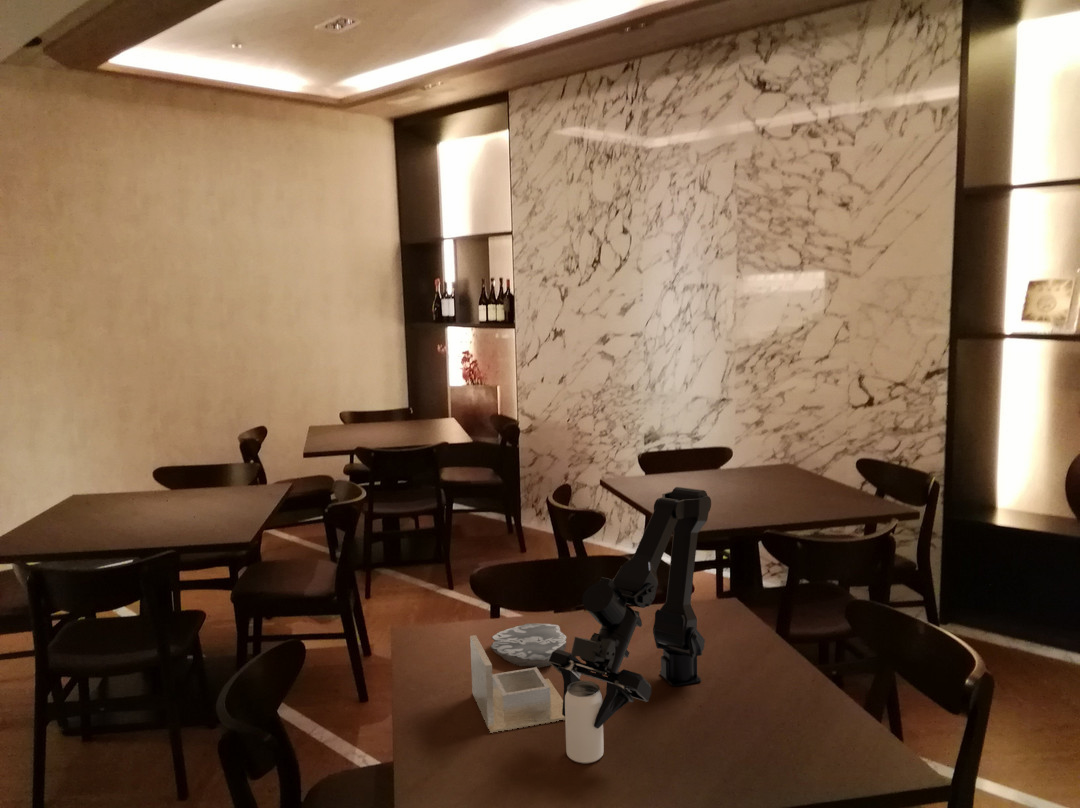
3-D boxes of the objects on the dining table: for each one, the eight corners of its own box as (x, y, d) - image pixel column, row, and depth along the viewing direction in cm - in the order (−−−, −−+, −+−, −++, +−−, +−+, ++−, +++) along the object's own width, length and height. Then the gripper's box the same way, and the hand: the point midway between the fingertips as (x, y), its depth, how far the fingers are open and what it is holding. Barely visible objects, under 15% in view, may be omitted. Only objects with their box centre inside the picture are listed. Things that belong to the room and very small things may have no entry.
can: (601, 766, 134) (599, 698, 133) (563, 763, 135) (561, 696, 134) (605, 745, 140) (604, 680, 139) (569, 742, 142) (567, 678, 140)
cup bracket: (548, 681, 165) (546, 622, 164) (573, 718, 150) (571, 654, 148) (471, 693, 161) (469, 634, 159) (489, 733, 145) (486, 668, 144)
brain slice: (495, 635, 190) (495, 623, 189) (567, 635, 189) (566, 623, 188) (486, 673, 170) (486, 660, 170) (566, 673, 169) (565, 659, 169)
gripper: (552, 606, 144) (515, 688, 137) (641, 629, 132) (606, 720, 125) (579, 633, 151) (544, 712, 144) (666, 657, 139) (633, 745, 132)
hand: (579, 721), depth 136 cm, fingers closed on can, 6 cm apart
